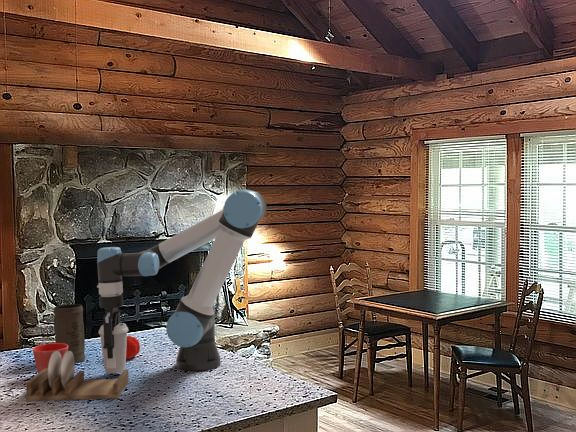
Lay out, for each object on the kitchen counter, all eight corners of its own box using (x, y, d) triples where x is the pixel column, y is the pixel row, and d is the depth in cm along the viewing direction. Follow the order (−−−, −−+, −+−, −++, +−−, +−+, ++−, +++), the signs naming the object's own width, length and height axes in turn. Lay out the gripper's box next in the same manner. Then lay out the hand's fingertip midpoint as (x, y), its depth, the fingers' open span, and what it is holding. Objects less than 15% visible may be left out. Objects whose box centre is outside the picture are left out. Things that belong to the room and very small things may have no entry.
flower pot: (57, 381, 199) (56, 351, 199) (26, 380, 201) (25, 350, 201) (75, 372, 209) (74, 343, 209) (45, 370, 212) (45, 342, 211)
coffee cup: (113, 376, 199) (111, 329, 198) (93, 372, 204) (91, 326, 204) (136, 369, 207) (134, 323, 206) (117, 365, 212) (115, 321, 212)
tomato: (113, 362, 222) (112, 341, 221) (114, 355, 230) (113, 335, 230) (140, 360, 224) (139, 339, 224) (140, 354, 232) (139, 333, 232)
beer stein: (93, 358, 226) (89, 303, 226) (68, 365, 217) (64, 308, 217) (65, 356, 234) (61, 302, 234) (40, 362, 225) (36, 307, 225)
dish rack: (128, 382, 197) (127, 344, 196) (117, 398, 182) (116, 356, 181) (44, 384, 196) (43, 346, 195) (26, 400, 181) (25, 358, 180)
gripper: (106, 290, 214) (109, 357, 214) (91, 300, 194) (94, 373, 195) (128, 289, 214) (131, 356, 215) (115, 299, 194) (118, 372, 195)
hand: (114, 364), depth 205 cm, fingers closed on coffee cup, 7 cm apart
